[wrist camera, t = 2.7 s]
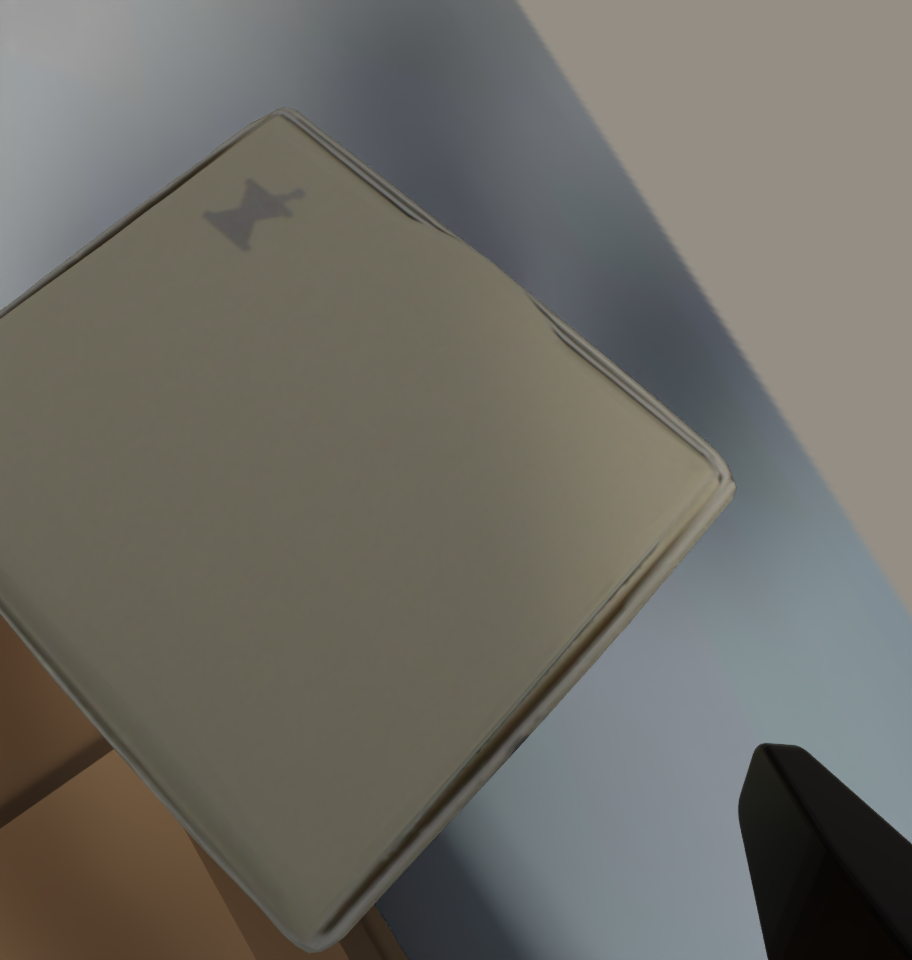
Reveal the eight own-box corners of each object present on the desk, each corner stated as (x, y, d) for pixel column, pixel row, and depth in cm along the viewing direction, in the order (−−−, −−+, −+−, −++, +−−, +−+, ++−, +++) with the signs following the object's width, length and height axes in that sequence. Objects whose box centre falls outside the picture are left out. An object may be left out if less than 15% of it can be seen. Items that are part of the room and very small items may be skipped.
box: (257, 638, 17) (-215, 398, 5) (388, 511, 18) (261, 61, 6) (415, 804, 16) (296, 1015, 4) (545, 657, 17) (774, 459, 5)
